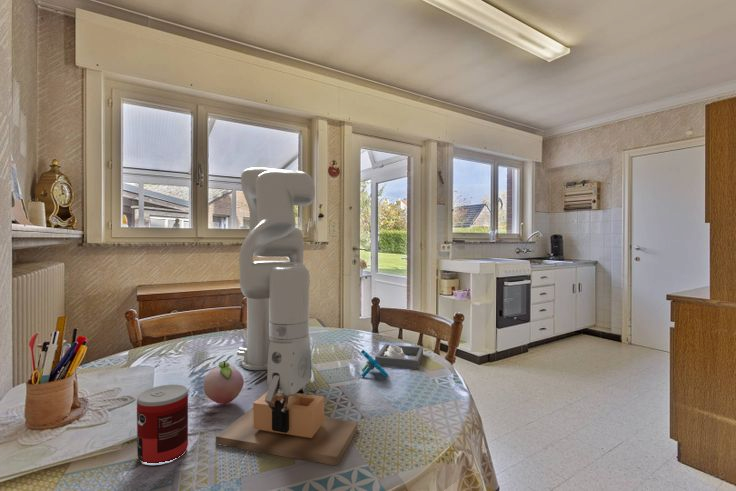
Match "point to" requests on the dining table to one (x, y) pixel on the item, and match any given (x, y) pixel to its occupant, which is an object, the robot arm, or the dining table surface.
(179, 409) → the canned food
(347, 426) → the locating board
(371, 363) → the gear
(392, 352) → the whipped cream
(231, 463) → the dining table surface
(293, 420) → the block with square holes
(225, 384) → the decorative fruit
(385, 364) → the frame
